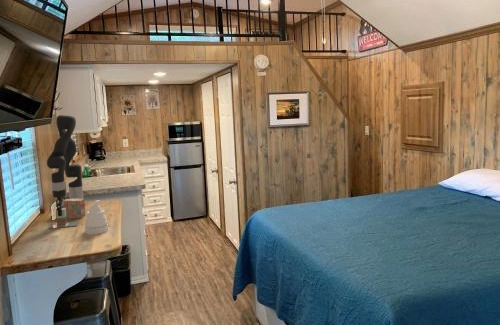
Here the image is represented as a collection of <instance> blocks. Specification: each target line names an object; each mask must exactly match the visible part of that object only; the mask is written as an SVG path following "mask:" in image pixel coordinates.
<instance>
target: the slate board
mask: <svg viewBox="0 0 500 325" xmlns="http://www.w3.org/2000/svg"><path fill="white" fill-rule="evenodd" d="M52 224H53V223H51V224H50V226H48V230H53V229H52V228H53V226H52ZM78 224H79V221H78V220H75V221H67V224H66V225H63V226H57V227H58V228H57V229H62V228H71V227H74V228H75V227H78Z"/></svg>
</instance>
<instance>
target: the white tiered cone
mask: <svg viewBox="0 0 500 325" xmlns="http://www.w3.org/2000/svg"><path fill="white" fill-rule="evenodd" d="M94 202H95V203H93V204H91V206H89V207H90V208H89V210H88V211H87V212H86V215H87V216H85V217H86V218H85V222H84V230H85V234H87V235H98V233H99V234H102V233H105V232H107V231H108V230H109V223H108V222H109V221H108V220H107V217H106V215H105V210H104V209H102V207H101V206H100V205H99V204H100V203H101V200H100V199H99V200H95V201H94Z"/></svg>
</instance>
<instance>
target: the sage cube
mask: <svg viewBox="0 0 500 325" xmlns="http://www.w3.org/2000/svg"><path fill="white" fill-rule="evenodd" d="M65 217H66V208H62V216H58V210H57V209H56V218H65ZM56 218H55V219H56Z"/></svg>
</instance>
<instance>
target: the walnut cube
mask: <svg viewBox="0 0 500 325" xmlns="http://www.w3.org/2000/svg"><path fill="white" fill-rule="evenodd" d="M67 219H68V218H66V217H65V218H55V220H56V223H57V226H63V225H66V224H67V222H68V220H67Z"/></svg>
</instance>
